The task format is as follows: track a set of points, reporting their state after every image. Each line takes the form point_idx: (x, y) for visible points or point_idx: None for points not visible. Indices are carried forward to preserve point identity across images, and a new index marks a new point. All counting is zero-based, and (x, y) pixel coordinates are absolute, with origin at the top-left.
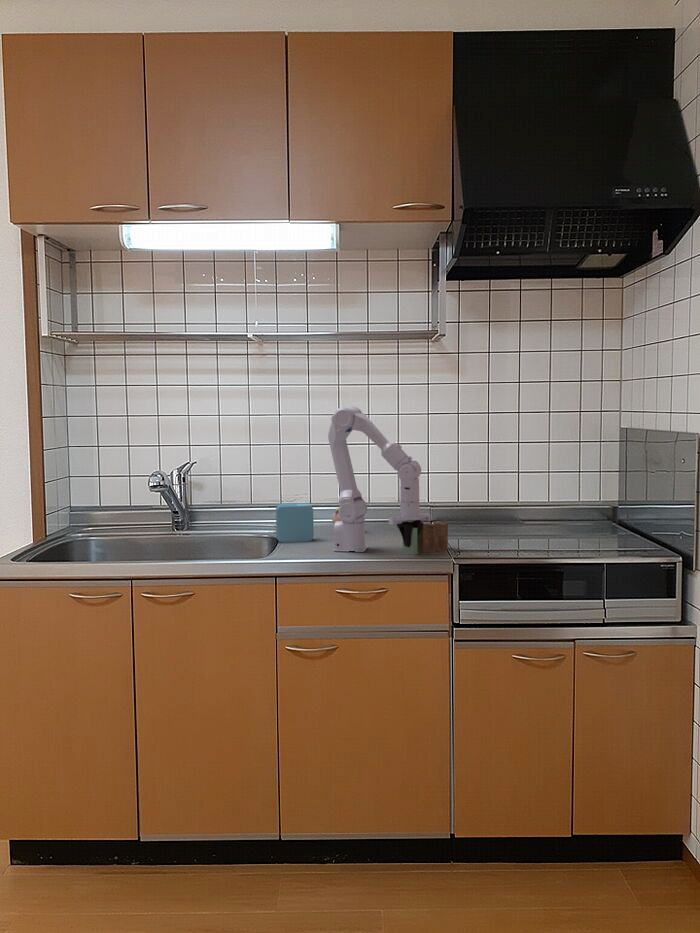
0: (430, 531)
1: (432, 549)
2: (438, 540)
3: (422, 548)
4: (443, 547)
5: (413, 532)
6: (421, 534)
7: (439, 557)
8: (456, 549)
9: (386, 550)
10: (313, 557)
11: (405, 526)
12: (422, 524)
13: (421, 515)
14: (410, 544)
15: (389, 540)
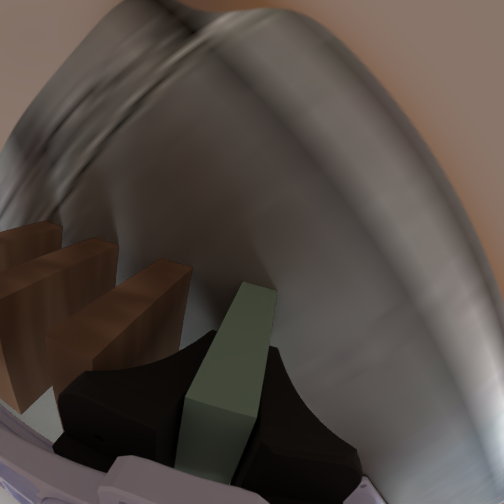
0: (36, 320)
1: (111, 259)
2: None
3: (180, 287)
4: (53, 231)
5: (255, 384)
6: (133, 345)
7: (228, 106)
8: (24, 189)
9: None
10: (480, 483)
11: (357, 474)
12: (92, 381)
13: (5, 469)
14: None
15: None
